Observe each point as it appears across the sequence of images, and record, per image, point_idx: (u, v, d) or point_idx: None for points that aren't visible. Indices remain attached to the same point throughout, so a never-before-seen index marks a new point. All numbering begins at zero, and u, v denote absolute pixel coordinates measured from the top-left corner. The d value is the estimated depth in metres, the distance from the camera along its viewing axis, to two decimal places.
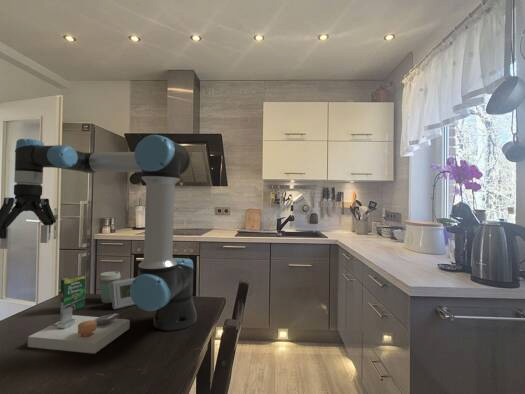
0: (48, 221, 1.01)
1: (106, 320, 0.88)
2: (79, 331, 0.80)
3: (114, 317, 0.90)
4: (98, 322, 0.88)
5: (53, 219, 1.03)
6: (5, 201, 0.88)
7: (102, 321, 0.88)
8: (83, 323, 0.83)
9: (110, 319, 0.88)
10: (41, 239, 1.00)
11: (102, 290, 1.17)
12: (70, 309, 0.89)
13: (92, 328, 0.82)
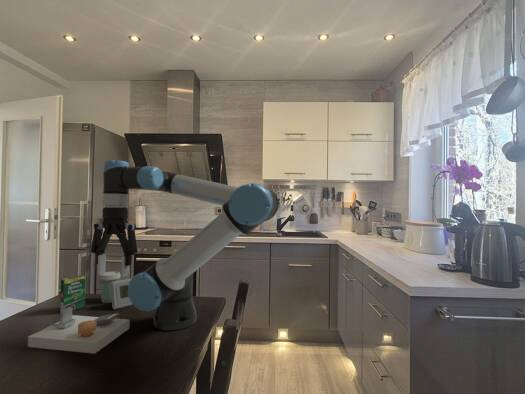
0: (125, 251, 0.89)
1: (106, 320, 0.88)
2: (79, 331, 0.80)
3: (114, 317, 0.90)
4: (98, 322, 0.88)
5: (130, 250, 0.89)
6: None
7: (102, 321, 0.88)
8: (83, 323, 0.83)
9: (110, 319, 0.88)
10: None
11: (102, 290, 1.17)
12: (70, 309, 0.89)
13: (92, 328, 0.82)
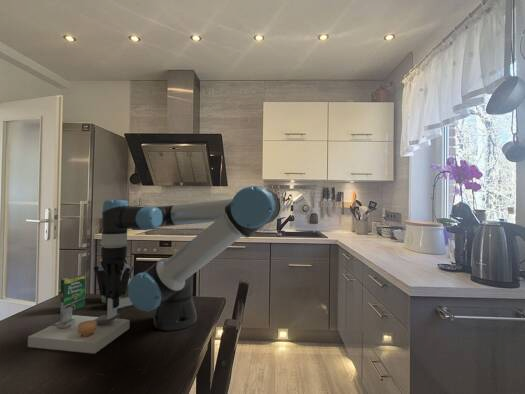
0: (113, 293, 0.89)
1: (106, 320, 0.88)
2: (79, 331, 0.80)
3: (114, 317, 0.90)
4: (98, 322, 0.88)
5: (119, 292, 0.89)
6: None
7: (102, 321, 0.88)
8: (83, 323, 0.83)
9: (110, 319, 0.88)
10: None
11: None
12: (70, 309, 0.89)
13: (92, 328, 0.82)
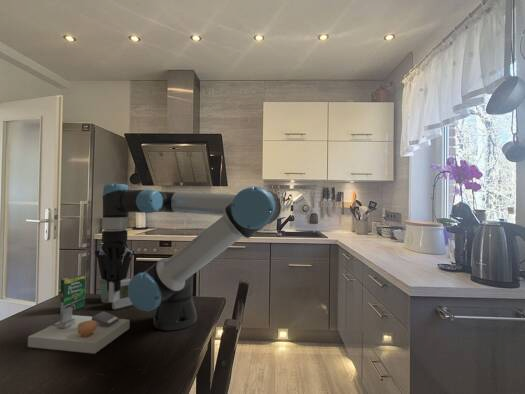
0: (115, 277, 0.89)
1: (106, 323, 0.88)
2: (79, 331, 0.80)
3: (114, 322, 0.90)
4: (98, 321, 0.88)
5: (120, 275, 0.89)
6: None
7: (102, 322, 0.88)
8: (83, 323, 0.83)
9: (110, 324, 0.88)
10: None
11: (102, 290, 1.17)
12: (70, 309, 0.89)
13: (92, 328, 0.82)
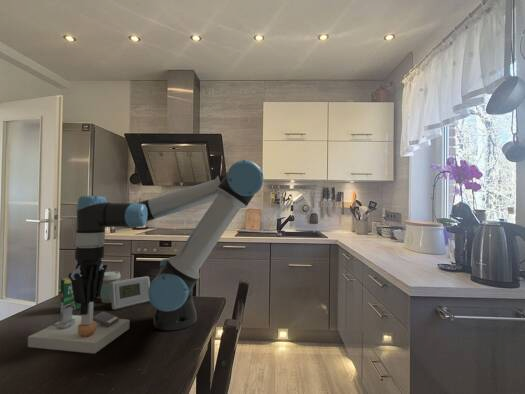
0: (94, 295, 0.84)
1: (106, 323, 0.88)
2: (79, 332, 0.80)
3: (114, 322, 0.90)
4: (98, 321, 0.88)
5: (99, 291, 0.86)
6: (72, 278, 0.77)
7: (102, 322, 0.88)
8: None
9: (110, 324, 0.88)
10: None
11: (102, 290, 1.17)
12: (70, 309, 0.89)
13: (92, 329, 0.82)
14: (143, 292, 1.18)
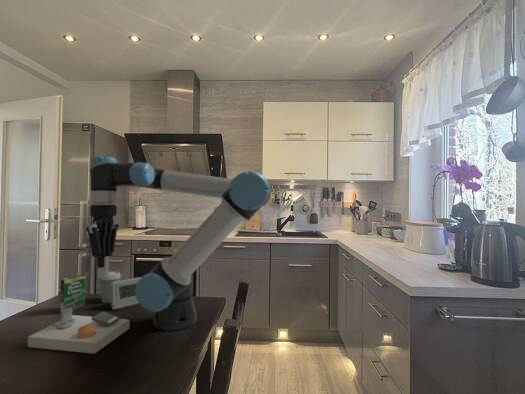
0: (109, 250, 0.90)
1: (106, 323, 0.88)
2: (79, 335, 0.80)
3: (114, 322, 0.90)
4: (98, 321, 0.88)
5: (112, 248, 0.91)
6: (89, 232, 0.83)
7: (102, 322, 0.88)
8: (83, 327, 0.83)
9: (110, 324, 0.88)
10: None
11: (102, 290, 1.17)
12: (70, 309, 0.89)
13: (92, 332, 0.82)
14: None
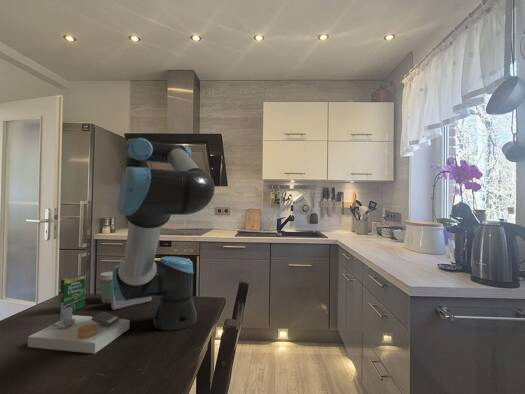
0: None
1: (106, 323, 0.88)
2: (79, 335, 0.80)
3: (114, 322, 0.90)
4: (98, 321, 0.88)
5: None
6: None
7: (102, 322, 0.88)
8: (83, 327, 0.83)
9: (110, 324, 0.88)
10: None
11: (102, 290, 1.17)
12: (70, 309, 0.89)
13: (92, 332, 0.82)
14: None
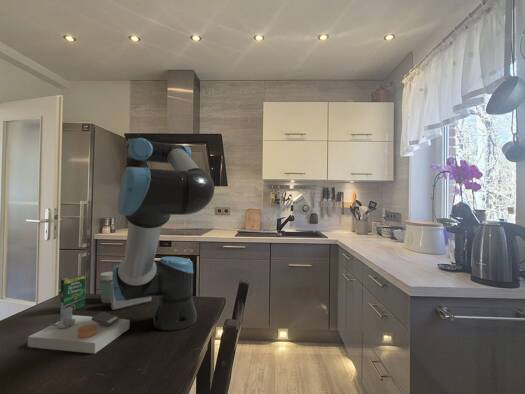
0: None
1: (106, 323, 0.88)
2: (79, 335, 0.80)
3: (114, 322, 0.90)
4: (98, 321, 0.88)
5: None
6: None
7: (102, 322, 0.88)
8: (83, 327, 0.83)
9: (110, 324, 0.88)
10: None
11: (102, 290, 1.17)
12: (70, 309, 0.89)
13: (92, 332, 0.82)
14: None
